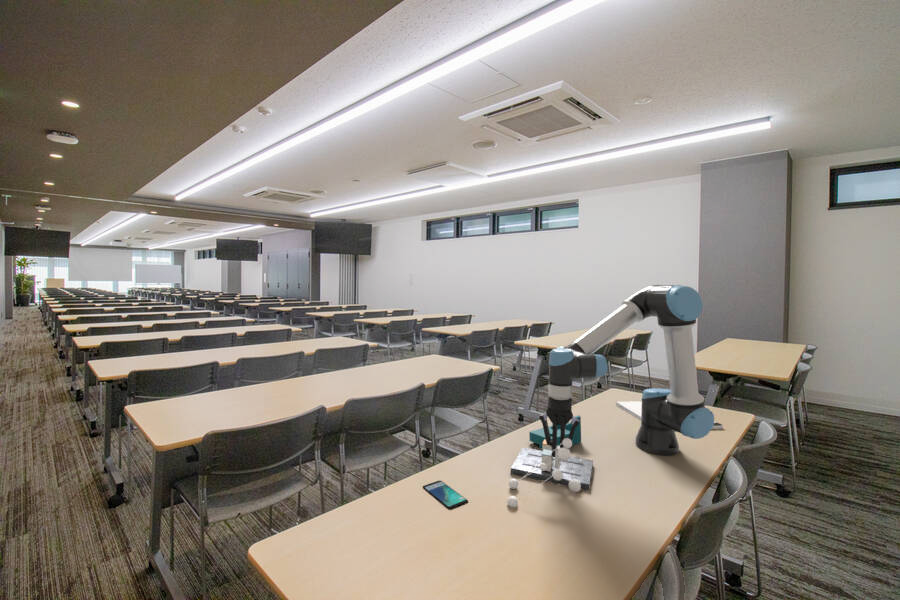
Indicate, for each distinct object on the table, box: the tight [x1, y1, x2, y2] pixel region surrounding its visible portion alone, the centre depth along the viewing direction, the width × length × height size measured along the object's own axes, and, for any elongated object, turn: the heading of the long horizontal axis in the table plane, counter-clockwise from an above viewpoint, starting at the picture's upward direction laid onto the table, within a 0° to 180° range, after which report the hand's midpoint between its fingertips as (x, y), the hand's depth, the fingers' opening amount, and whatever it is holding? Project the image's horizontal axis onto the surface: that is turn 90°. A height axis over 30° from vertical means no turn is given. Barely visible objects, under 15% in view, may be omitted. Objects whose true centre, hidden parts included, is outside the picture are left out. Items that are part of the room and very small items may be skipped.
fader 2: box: [541, 449, 553, 471], centre depth 132 cm, size 3×4×5 cm
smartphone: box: [422, 480, 469, 510], centre depth 119 cm, size 7×1×15 cm
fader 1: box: [541, 439, 552, 452], centre depth 140 cm, size 3×4×5 cm
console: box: [510, 446, 594, 491], centre depth 136 cm, size 25×18×2 cm
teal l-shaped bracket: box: [529, 415, 582, 450], centre depth 158 cm, size 18×11×10 cm, turn 124°
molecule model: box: [507, 438, 582, 508], centre depth 119 cm, size 14×25×18 cm, turn 98°
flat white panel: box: [615, 400, 724, 430], centre depth 192 cm, size 35×2×31 cm
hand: (557, 466), depth 131 cm, fingers closed
